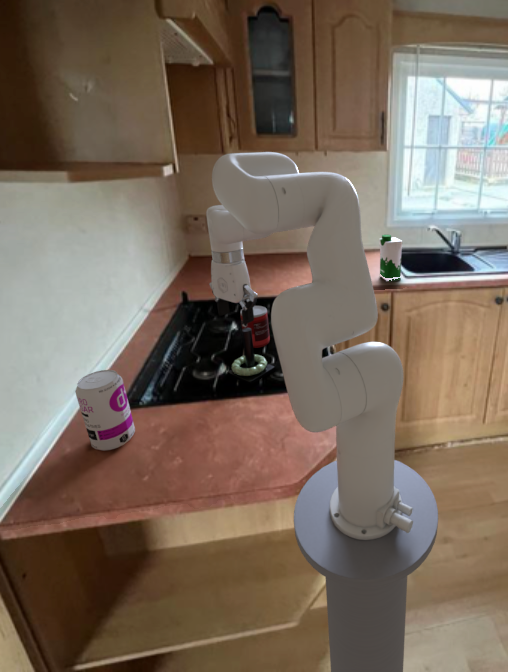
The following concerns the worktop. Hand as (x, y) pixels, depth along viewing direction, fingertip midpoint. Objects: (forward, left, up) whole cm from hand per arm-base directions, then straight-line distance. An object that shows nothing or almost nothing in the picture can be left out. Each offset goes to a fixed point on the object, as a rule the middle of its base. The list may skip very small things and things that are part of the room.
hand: (236, 318), depth 109 cm
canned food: (+8, -13, -16) cm, 22 cm away
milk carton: (+4, -88, -16) cm, 89 cm away
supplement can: (+1, +34, -16) cm, 38 cm away
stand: (-4, 0, -16) cm, 16 cm away
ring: (-3, 0, -13) cm, 14 cm away
